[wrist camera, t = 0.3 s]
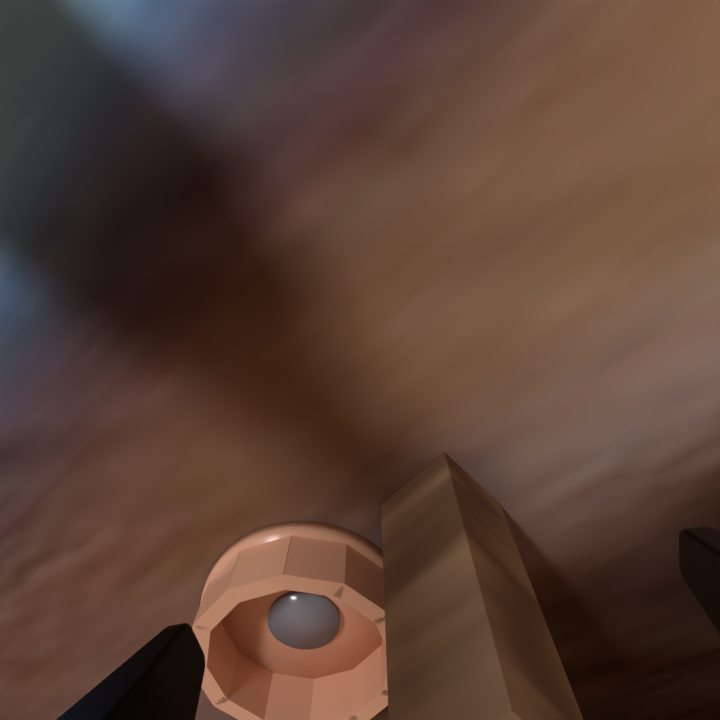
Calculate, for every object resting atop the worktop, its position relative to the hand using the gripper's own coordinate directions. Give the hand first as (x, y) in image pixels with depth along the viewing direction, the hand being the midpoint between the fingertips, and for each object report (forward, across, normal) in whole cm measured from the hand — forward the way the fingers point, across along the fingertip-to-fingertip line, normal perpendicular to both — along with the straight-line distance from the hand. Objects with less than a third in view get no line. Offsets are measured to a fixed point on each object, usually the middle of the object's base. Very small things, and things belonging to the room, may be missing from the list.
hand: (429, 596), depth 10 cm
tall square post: (+13, +1, -8) cm, 16 cm away
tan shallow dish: (+13, -7, -13) cm, 20 cm away
